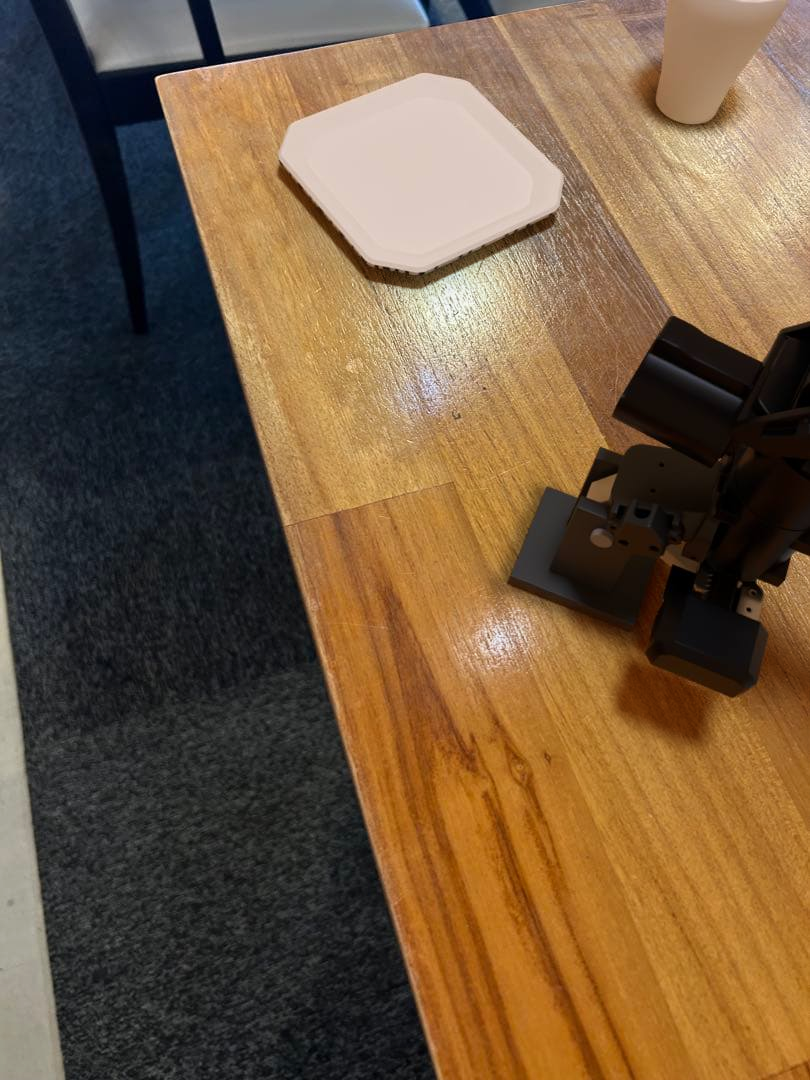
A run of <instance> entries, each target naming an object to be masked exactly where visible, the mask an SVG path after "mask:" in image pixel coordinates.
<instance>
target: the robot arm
mask: <svg viewBox="0 0 810 1080" xmlns="http://www.w3.org/2000/svg"><path fill="white" fill-rule="evenodd" d="M647 350H648V351H647V352H646V353H645V355H644V357H643V359H642V360H641V362H640V363H639V364H638V365H639V366H638V367H637V369H636V370H635V372H634V374H633V375H632V377H631V378H630V381H628V384H627V385H626V387H625V389H624V390H623V392H622V393H621V395H620V397H619V399H618V401H617V402H616V405H615V407H614V409H613V411H612V414H611V416H610V417H611V418H612V419H614V420H616V421H618V422H620V423H622V424H624V425H626V426H628V427H630V428H632V429H634V430H635V431H637V432H639V433H641V434H643V435H645V436H647V437H649V438H650V439H653V440H654V441H657V442H658V443H661V444H663V445H665V446H666V447H665V446H659V445H652V444H646V443H636V444H634V445H630V446H629V447H628V448H627V449H626V450H625V452H624V453H623V455H624V456H623V459H622V461H621V464H620V467H619V470H618V472H617V475H616V478H615V481H614V483H613V486H612V489H611V502H612V508H611V511H610V514H609V517H608V520H607V523H606V525H605V528H606V529H607V530H608V531H610V532H613V533H615V544H616V546H617V547H618V548H619V549H621V550H622V551H625V552H629V553H634V554H639V555H644V556H649V557H654V558H660V556H663V555H664V553H665V550H666V547H667V546H669V545H671V544H673V545H681V544H682V543H683V546H682V548H683V550H682V553H681V556H683V557H685V558H688V559H690V560H693V561H695V562H698V563H699V566H698V570H697V573H694V572H691V571H689V570H686V569H684V568H681V567H679V566H676V565H674V564H672V567H671V566H670V570H669V573H668V576H667V580H666V582H665V586H664V589H663V593H662V603H661V605H660V607H659V609H658V611H657V613H656V615H655V618H654V621H653V624H652V628H651V631H650V634H649V637H648V640H647V643H646V647H645V650H644V655H645V656H646V658H647V660H648V662H649V663H650V665H651V666H654V667H656V668H659V669H660V670H663V671H665V672H668V673H671V674H673V675H675V676H677V677H680V678H683V679H685V680H687V681H690V682H692V683H695V684H697V685H699V686H701V687H704V688H707V689H709V690H712V691H714V692H717V693H719V694H722V695H724V696H726V697H728V698H731V699H735V698H737V697H739V696H742V695H744V694H745V693H747V692H748V691H749V690H751V689H752V688H753V687H755V686H756V685H757V683H758V680H759V677H760V672H761V668H762V664H763V659H764V656H765V651H766V649H767V644H768V640H769V635H770V633H769V632H768V631H767V629H766V628H765V626H764V625H763V623H762V622H761V621H759V620H760V616H761V613H762V609H763V605H764V600H765V591H764V589H763V588H762V587H761V585H759V584H758V581H761V582H763V583H766V584H768V585H771V586H773V587H776V588H779V587H781V586H782V585H783V583H784V582H785V581H786V580H787V575H788V571H789V568H790V563H791V558H792V556H793V555H794V554H795V553H796V552H797V553H799V554H802V555H805V556H807V557H810V320H808V321H804V322H801V323H798V324H794V325H789V326H787V327H783V328H781V329H780V330H779V331H778V334H777V335H776V337H775V339H774V341H773V343H772V345H771V347H770V349H769V350H768V352H767V354H766V355H765V356H764V358H763V360H759V359H757V358H755V357H752V356H751V355H749V354H747V353H744V352H743V351H740V350H738V349H736V348H734V347H732V346H730V345H728V344H727V343H725V342H722V341H720V340H718V339H716V338H715V337H712V336H710V335H708V334H706V333H705V332H703V331H702V330H701V329H699V328H698V327H697V326H695V325H694V324H692V323H691V322H688V321H686V320H685V319H682V318H680V317H678V316H676V315H670V316H668V318H667V319H666V322H665V323H664V325H663V326H662V328H661V329H660V330H659V332H658V334H657V336H656V337H655V339H654V340H653V342H652V343H651V346H650V347H649V348H648V349H647ZM740 583H741V584H740Z"/></svg>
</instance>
